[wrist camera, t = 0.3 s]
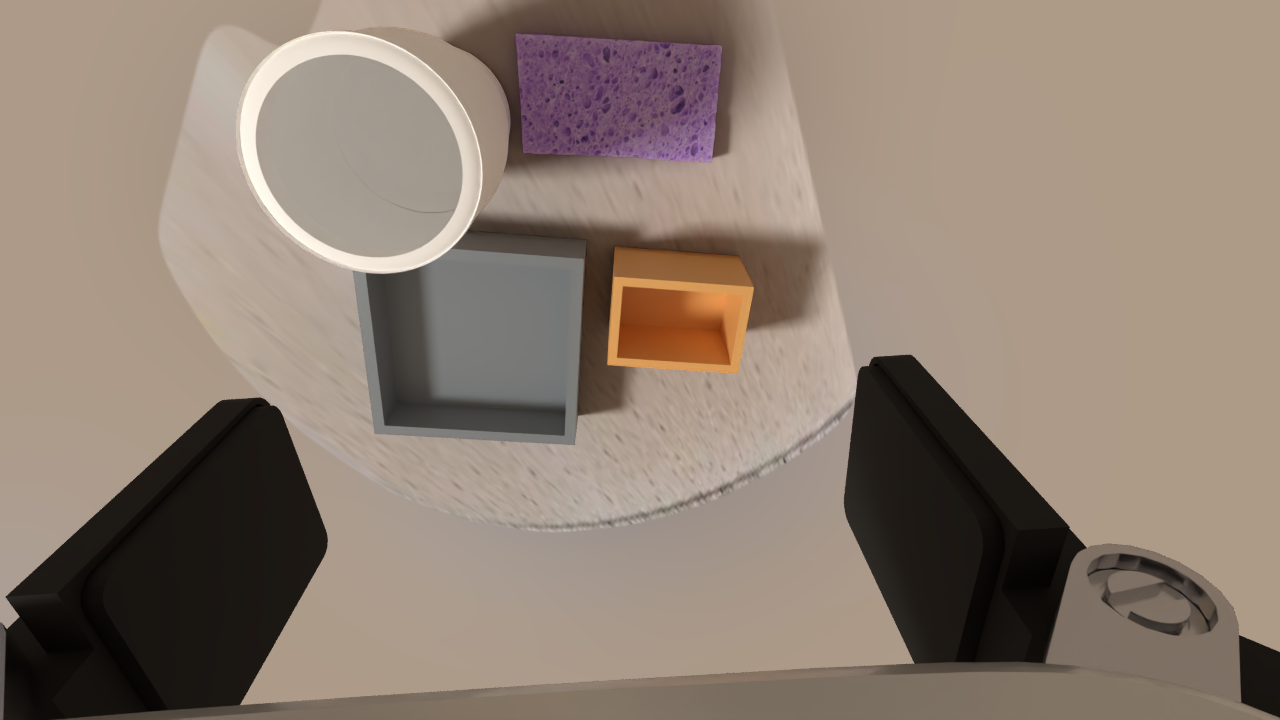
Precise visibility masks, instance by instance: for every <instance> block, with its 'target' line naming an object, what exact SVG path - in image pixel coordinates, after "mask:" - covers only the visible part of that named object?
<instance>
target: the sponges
mask: <svg viewBox="0 0 1280 720" xmlns="http://www.w3.org/2000/svg"><path fill="white" fill-rule="evenodd" d="M516 50H517V63H518V76H519V88H520V104H521V120H522V143H523V153H532V154H558V155H581V156H582V155H588V156H595V155H596V156H611V157H639V158H645V159H658V160H675V161H685V162H712V155H713V147H714V140H715V128H716V124H715V118H716V112H717V102H718V87H719V76H720V70H721V55H722V46H720V45H700V44H684V43H669V42H652V41H637V40H620V39H609V38H588V37H570V36H556V35H547V34H533V33H529V34H519V33H517V34H516Z"/></svg>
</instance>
